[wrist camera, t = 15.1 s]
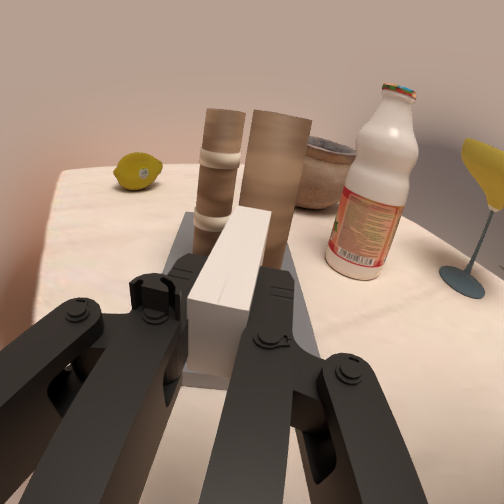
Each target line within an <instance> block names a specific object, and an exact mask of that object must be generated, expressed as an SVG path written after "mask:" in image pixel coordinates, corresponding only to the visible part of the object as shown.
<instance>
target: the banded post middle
mask: <svg viewBox="0 0 504 504" xmlns="http://www.w3.org/2000/svg"><path fill="white" fill-rule="evenodd" d="M245 115H246V113H244V112H239V111H232V110H224V109H207V111H206V119H205V127H204V135H203V143H202V147H201V149H200V158H199V163H200V170H199V180H198V191H197V201H196V207H195V209H194V221H193V223H194V239H193V253H192V254H196V255H201V256H206V257H209V255H210V253H211V251H212V249H213V248H214V246H215V244H216V242H217V240H218V238H219V236H220V235H221V233H222V231H223V229H224V227H225V225H226V223H227V222H228V220H229V218H230V216H231V214H232V203H233V196H234V189H235V182H236V175H237V168H239V164H240V157H241V151H240V148H241V141H242V134H243V128H244V121H245Z"/></svg>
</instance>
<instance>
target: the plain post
mask: <svg viewBox="0 0 504 504" xmlns="http://www.w3.org/2000/svg"><path fill="white" fill-rule="evenodd" d="M311 124H312V120H309V119H304V118H298V117H293V116H288V115H283V114H278V113H272V112H266V111H260V110H254V112H253V118H252V124H251V130H250V136H249V142H248V149H247V155H246V162H245V167H244V174H243V180H242V186H241V193H240V200H239V206H243V207H249V208H255V209H260V210H266V211H271V218H270V223H269V229H268V235H267V240H266V246H265V251H264V257H263V263H262V266H264V267H269V268H274V269H280V270H281V266H282V262H283V257H284V253H285V249H286V244H287V240H288V235H289V231H290V226H291V222H292V217H293V212H294V208H295V203H296V198H297V194H298V189H299V184H300V179H301V175H302V170H303V165H304V160H305V155H306V150H307V145H308V140H309V135H310V130H311Z"/></svg>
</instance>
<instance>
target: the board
mask: <svg viewBox="0 0 504 504" xmlns="http://www.w3.org/2000/svg"><path fill="white" fill-rule="evenodd" d="M193 221H194V213H193V212H186V213H185V215H184V218H183V220H182V223H181V225H180V228H179V230H178V233H177V235H176V238H175V241H174V243H173V246H172V249H171V251H170V254H169V257H168V259H167V262H166V265H165V268H164V270H163V273H162V274H165V275H167V274H168V273H169V271H170V270H171V269H172V267H173V265H174V264H175V262H176V261H177V259H179V258H180V257H182V256H184V255H186V254H187V253H191V254H192V253H193V239H194V223H193ZM281 270H285V271H289V272H290V274H291V275H292V277H293V279H294V280H295V285H294V308H293V328H292V332H293V337H294V339H295V341H296V343H297V344H298V345H299V346H300V347H301V348H302V349H303V350H305V351H306V352H308V353H310V354H312V355H314V356H316V357H319V358H320V355H319V351H318V347H317V344H316V340H315V336H314V333H313V329H312V325H311V322H310V318H309V315H308V311H307V308H306V304H305V301H304V297H303V294H302V290H301V287H300V283H299V280H298V277H297V273H296V270H295V266H294V263H293V260H292V256H291V253H290V250H289V246H288V243H287V244H286V249H285V253H284V257H283V262H282V266H281ZM182 376H183V378H182V386H190V387H199V388H209V389H220V390H228V386H229V382H230V379H228V378H223V377H218V376H214V375H209V374H205V373H201V372H197V371H193V370H189V369H187V360H186V363H185V365H184V368H183V370H182Z"/></svg>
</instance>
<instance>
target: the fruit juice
mask: <svg viewBox="0 0 504 504" xmlns="http://www.w3.org/2000/svg"><path fill="white" fill-rule="evenodd" d="M382 94H383V98H382V101H381V103H380V105H379V106H378V108H377V110H376V111H375V113H374V115H373V116H372V118H371V119H370V120H369V121H368V122H367V123H366V124H365V125H364V126H363V127H362V128H361V129H360V131H359V132H358V135H357V139H356V157H355V160H354V162H353V163H352V164H351V166H350V168H349V170H348V173H347V176H346V179H345V183H344V188H343V192H342V196H341V199H340V203H339V207H338V211H337V214H336V218H335V222H334V225H333V229H332V232H331V236H330V239H329V243H328V246H327V250H326V260H327V262H328V263H329V265H330V266H331V267H332V268H333V269H335V270H336V271H338V272H339V273H341V274H343V275H345V276H348V277H351V278H354V279H360V280H370V279H374V278H376V277H377V276H378V275H379V273H380V272H381V270H382V268H383V265H384V263H385V260H386V257H387V255H388V252H389V249H390V247H391V244H392V241H393V238H394V236H395V233H396V230H397V227H398V224H399V221H400V218H401V215H402V212H403V209H404V206H405V203H406V200H407V196H408V192H409V175H410V172H411V170H412V169H413V167H414V165H415V163H416V161H417V157H418V145H417V142H416V139H415V136H414V132H413V125H412V105H413V104H414V103H415V100H416V92H414V91H413V90H410V89H408V88H405V87H403V86H399V85H396V84H391V83H384V84H383V87H382Z"/></svg>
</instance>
